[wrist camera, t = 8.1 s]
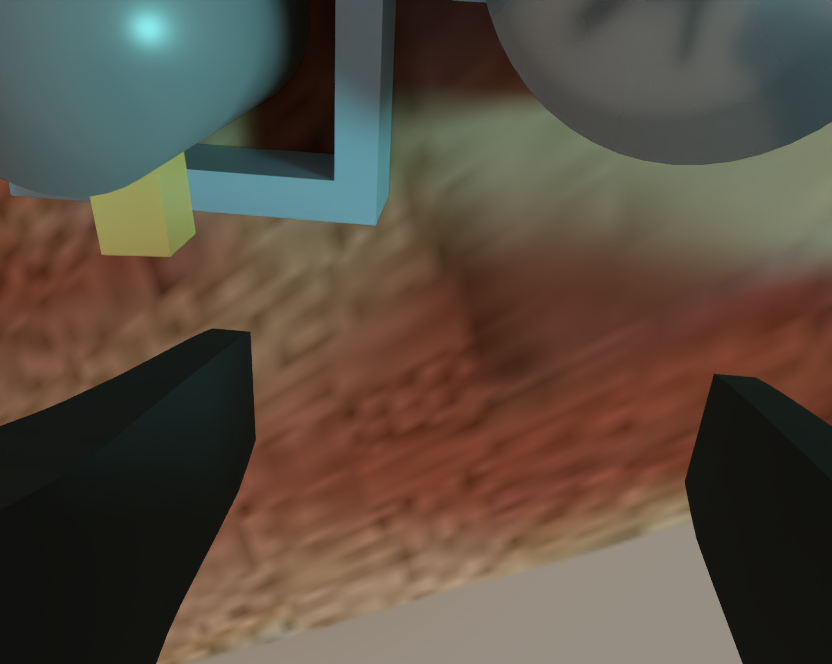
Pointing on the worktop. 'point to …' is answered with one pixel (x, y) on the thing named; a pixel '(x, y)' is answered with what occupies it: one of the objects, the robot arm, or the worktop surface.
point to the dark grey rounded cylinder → (134, 100)
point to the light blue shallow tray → (303, 171)
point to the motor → (675, 72)
